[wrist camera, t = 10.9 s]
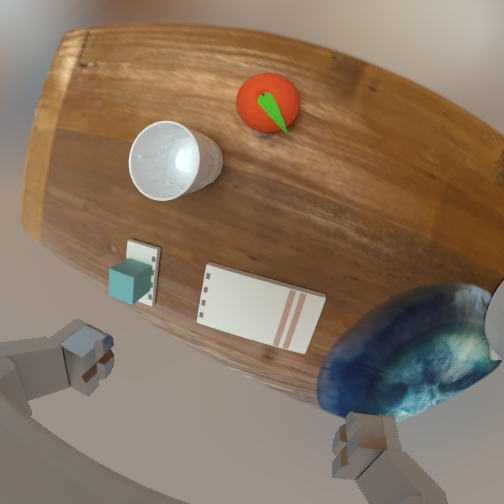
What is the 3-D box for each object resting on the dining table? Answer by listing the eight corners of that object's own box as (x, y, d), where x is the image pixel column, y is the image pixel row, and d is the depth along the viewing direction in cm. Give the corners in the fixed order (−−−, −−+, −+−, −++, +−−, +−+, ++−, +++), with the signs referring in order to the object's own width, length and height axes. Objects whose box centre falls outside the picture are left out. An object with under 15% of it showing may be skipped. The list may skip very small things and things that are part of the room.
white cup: (212, 120, 34) (180, 106, 25) (238, 175, 36) (213, 178, 26) (162, 149, 36) (118, 146, 27) (185, 202, 38) (146, 213, 28)
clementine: (316, 126, 32) (317, 115, 26) (266, 153, 34) (255, 149, 28) (281, 73, 31) (274, 52, 24) (233, 100, 33) (216, 86, 26)
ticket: (325, 294, 38) (326, 298, 36) (305, 349, 40) (304, 354, 39) (209, 261, 39) (206, 264, 38) (199, 318, 42) (196, 322, 41)
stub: (160, 247, 40) (138, 260, 34) (154, 303, 43) (134, 321, 37) (131, 238, 40) (107, 249, 35) (127, 293, 43) (105, 309, 38)
